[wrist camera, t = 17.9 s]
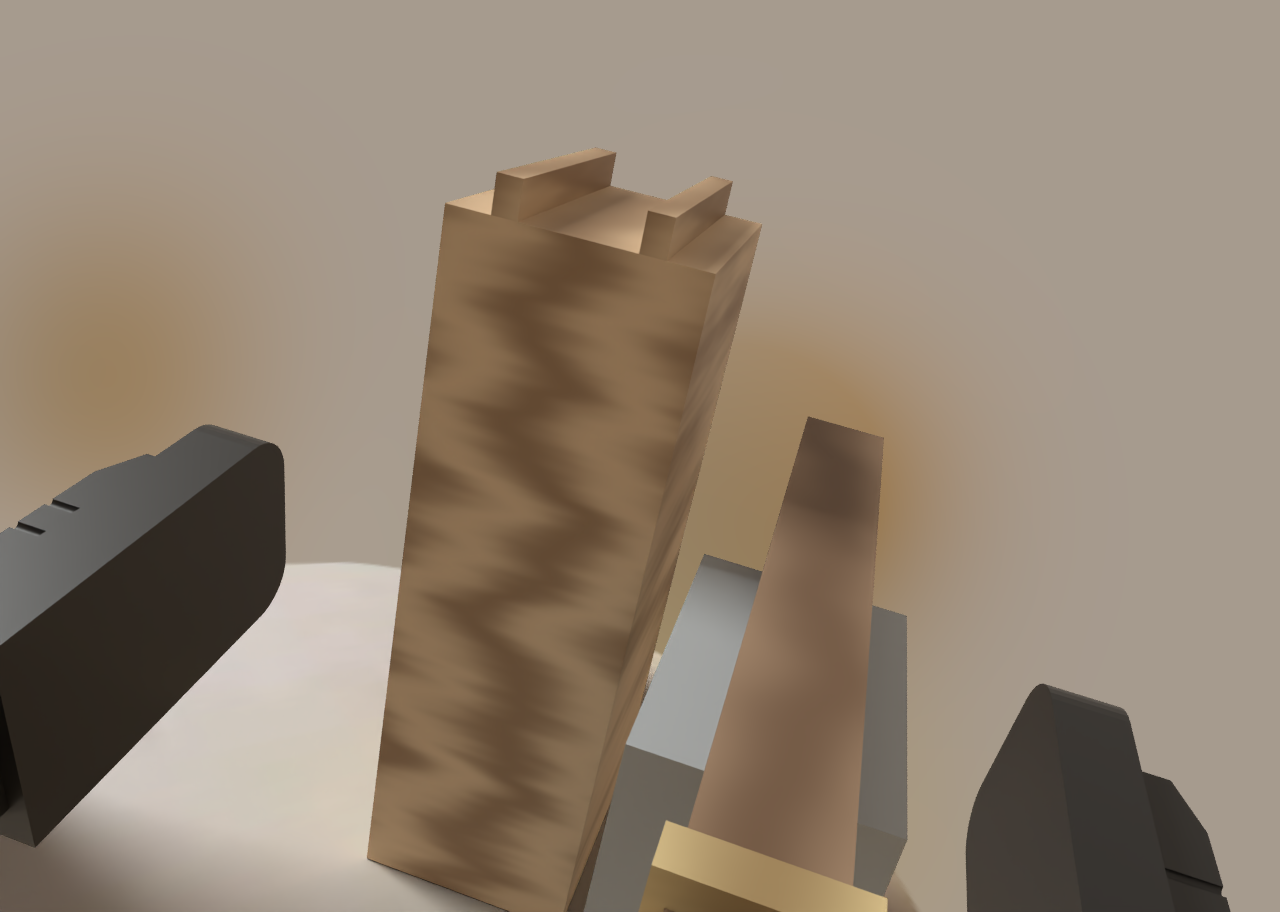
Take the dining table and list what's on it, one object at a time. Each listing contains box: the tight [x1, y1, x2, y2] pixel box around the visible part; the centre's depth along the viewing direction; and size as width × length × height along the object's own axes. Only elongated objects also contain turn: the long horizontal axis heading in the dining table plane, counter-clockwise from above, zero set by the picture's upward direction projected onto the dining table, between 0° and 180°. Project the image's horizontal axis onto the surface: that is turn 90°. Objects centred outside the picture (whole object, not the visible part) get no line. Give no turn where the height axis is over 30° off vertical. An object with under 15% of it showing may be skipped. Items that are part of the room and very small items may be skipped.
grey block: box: [584, 554, 907, 912], centre depth 37 cm, size 8×12×21 cm, turn 165°
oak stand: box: [367, 148, 762, 912], centre depth 46 cm, size 10×12×34 cm
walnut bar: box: [638, 417, 888, 912], centre depth 31 cm, size 4×30×4 cm, turn 165°
